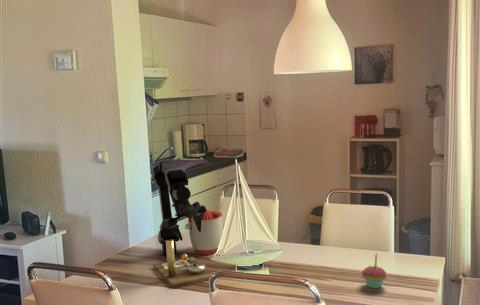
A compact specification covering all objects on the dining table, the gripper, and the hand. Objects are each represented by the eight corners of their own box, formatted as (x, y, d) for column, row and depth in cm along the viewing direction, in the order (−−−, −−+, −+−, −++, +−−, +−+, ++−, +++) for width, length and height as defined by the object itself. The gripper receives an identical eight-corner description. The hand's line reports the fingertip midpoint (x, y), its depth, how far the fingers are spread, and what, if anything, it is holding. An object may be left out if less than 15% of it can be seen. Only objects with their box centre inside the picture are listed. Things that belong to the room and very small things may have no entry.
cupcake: (368, 279, 181) (367, 248, 179) (390, 284, 175) (390, 252, 174) (358, 287, 174) (357, 255, 173) (380, 293, 169) (380, 259, 167)
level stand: (154, 267, 205) (153, 264, 205) (192, 259, 212) (192, 256, 212) (173, 288, 182) (173, 284, 181) (216, 278, 189) (216, 274, 189)
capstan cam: (157, 265, 203) (155, 232, 201) (191, 258, 209) (189, 226, 208) (171, 279, 186) (169, 244, 184) (207, 271, 193) (205, 237, 191)
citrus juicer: (183, 248, 228) (180, 207, 226) (219, 243, 233) (216, 203, 231) (190, 259, 213) (187, 215, 211) (228, 253, 218) (225, 210, 216)
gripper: (169, 207, 185) (182, 245, 186) (208, 191, 196) (219, 227, 197) (156, 208, 194) (168, 245, 195) (193, 193, 205) (205, 227, 206)
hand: (191, 236), depth 198 cm, fingers open, 9 cm apart
